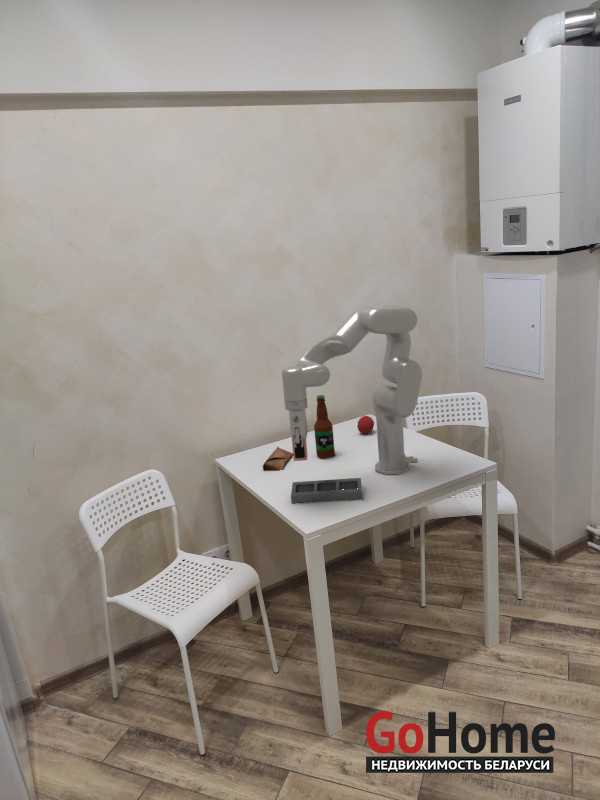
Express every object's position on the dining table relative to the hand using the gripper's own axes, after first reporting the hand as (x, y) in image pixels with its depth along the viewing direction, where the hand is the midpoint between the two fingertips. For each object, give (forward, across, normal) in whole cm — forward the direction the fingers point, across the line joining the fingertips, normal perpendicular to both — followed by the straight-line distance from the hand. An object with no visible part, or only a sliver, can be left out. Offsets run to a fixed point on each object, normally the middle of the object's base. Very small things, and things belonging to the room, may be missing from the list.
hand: (300, 454), depth 207 cm
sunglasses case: (+16, +33, +12) cm, 38 cm away
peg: (+1, 0, 0) cm, 1 cm away
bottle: (+15, +36, -7) cm, 40 cm away
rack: (+15, 0, -8) cm, 17 cm away
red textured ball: (+15, +59, -24) cm, 66 cm away
